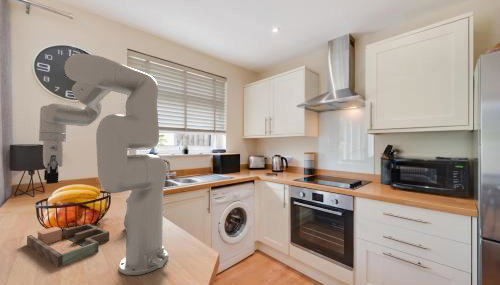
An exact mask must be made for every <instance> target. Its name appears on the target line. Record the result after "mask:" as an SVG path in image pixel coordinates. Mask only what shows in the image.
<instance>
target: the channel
mask: <svg viewBox="0 0 500 285" xmlns="http://www.w3.org/2000/svg"><path fill="white" fill-rule="evenodd" d="M62 237H64V238H65V237H66V238H65V239H67V238H68V240H69V239H70V240H69V241H71V240H72V241H71V242H73V241H74V244H78V245H79V246H80V247H77V248H74V249H72V250H71V249H70V251H69V250H68V251H66V252H63V253H61V252H59V251H57V250H56V249H54V248H53V247H51V246H49V244H45V243H43V242H42V241H40V240H39V239H38V237H35V236H34V235H32V234H29V235H27V236H26V246H28V247H29V248H31V249H32V250H33V251H35V252H36V253H38V254H39V255H40V256H42V258H43V257H44V258H45V259H46V260H48V261H49V262H50V263H51V264H52V265H54V266H56V267H57V268H60V267H62V266H65V265H68V264H70V263H73V262H75V261H77V260H80V259H83V258H86V257H88V256H91V255H93V254H96V253H99V248H100V244H103V243H105V242H108V241H109V240H110V231H108V230H106V229H103V228H100V227H98V226H95V225H93V224H91V223H86V224H83V225H79V226H75V227H72V228H71V227H70V228H69V227H67V228H63V231H62ZM44 258H43V259H44Z"/></svg>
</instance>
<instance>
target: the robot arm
mask: <svg viewBox="0 0 500 285" xmlns="http://www.w3.org/2000/svg"><path fill="white" fill-rule="evenodd" d="M64 73H65V75H66V77H67V78H69V79H70V80H71V81H74V82H75V83H74V84H73V85H72V87H71V93H72V96H73V97H74V98H75V100H77V101H78V102H80V103H81V104H83V105H85V107H82V106H75V105H68V104H62V103H50V104H48V105H42V106H41V107H40V110H39V130H38V131H39V132H38V133H39V134H38V141H39V142H43V143H42V144H43V146H42V162H43V166H44V167H45V168H44V171H43V173H44V175H43V180H44V181H45V182H46V185H50V184H58V183H59V167H60V168H61V167H63V165H64V164H63V161H64V160H63V157H64V156H63V155H64V154H63V150H64V149H63V148H64V147H63V146H64V145H63V143H65V142H66V141H67V126H77V127H88V126H90V125H91V124H92V123H94V122H95V121H96V120H97V119H99V117H100V115H101V112H102V104H101V101H102V100H103V99H104V98H105V97H106V96H107V95H108V94H109V93H111V92H115V93H119V94H124V95H128V97H127V99H126V100H125V114H118V113H117V114H116V113H114V114H108V115H106V116H104V117H103V118H102V119H101V120H100V121H99V123H98V125H97V127H96V128H97V129H96V134H95V135H96V139H95V140H96V141H95V142H96V162H97V164H96V165H97V177H98V182H99V184H100V187H101V188H102V189H103V190H104V191H105V192H107V193H110V194H117V193H122V192H129V191H131V192H130V194H129V198H128V197H127V198H128V201H127V203H126V212H125V215H126V228H125V256H124V258H122V259H121V260H120V262H119V265H118V270H119V273H121V274H122V275H123V274H124V275H127V276H137V275H138V276H139V275H145V274H147V273H151V272H153V271H155V270H158V269H159V268H163V266H164V265H165V263H167V261H168V259H169V254H168V251H167V250H165V246H163V224H164V223H163V221H164V220H163V216H164V215H163V211H164V208H163V207H164V189H165V185H166V184H165V182H166V179H167V172H168V170H167V169H168V168H167V164H166V161H165V160H164V159H163V158H162V157H161V156H159V155H156V154H149V153H148V154H146V153H145V154H131V155H130V154H128V151H145V150H151V149H154V148H156V147H157V146H158V144H159V141H160V130H159V128H160V127H159V113H158V96H159V86H158V82H157V80H156V79H155V77H153V76H152V75H150V74H148V73H146V72H143V71H140V70H138V69H135V68H132V67H131V66H129V65H128V66H127V65H125V64H122V63H119V62H117V61H115V60H112V59H109V58H106V57H104V56H100V55H95V54H88V53H81V52H80V53H79V52H78V53H75V54H72V55H70V56H69V57H68V58H67V60H65V64H64Z"/></svg>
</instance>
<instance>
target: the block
mask: <svg viewBox="0 0 500 285" xmlns="http://www.w3.org/2000/svg"><path fill="white" fill-rule="evenodd" d="M62 237H63V236H62V229H61V227H58V226H53V227H50V228H49V227H48V228H45V229H42V230H38V231H37V239H39V240H40V241H42V242H43V243H45V244H46V245H49V244H52V242H53V243H56V242H58V240H59V241H62ZM55 241H56V242H55Z"/></svg>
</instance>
